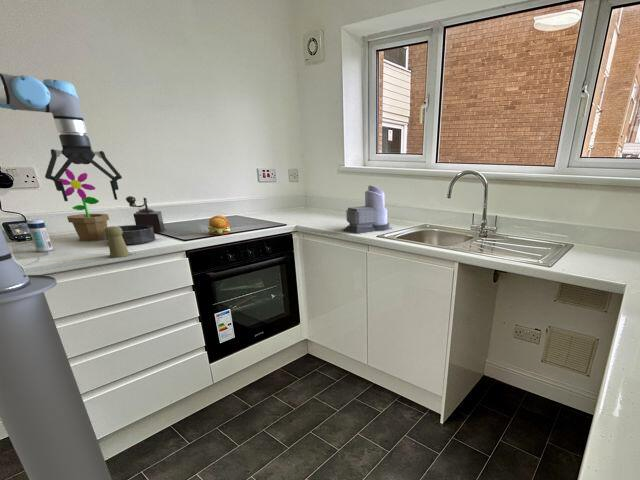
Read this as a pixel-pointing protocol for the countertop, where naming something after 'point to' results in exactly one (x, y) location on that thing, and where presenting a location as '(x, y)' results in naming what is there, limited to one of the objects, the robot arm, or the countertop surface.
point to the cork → (116, 242)
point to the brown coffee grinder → (147, 215)
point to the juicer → (368, 213)
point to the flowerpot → (85, 224)
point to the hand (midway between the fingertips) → (92, 200)
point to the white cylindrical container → (39, 235)
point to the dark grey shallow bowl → (136, 234)
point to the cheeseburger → (218, 225)
